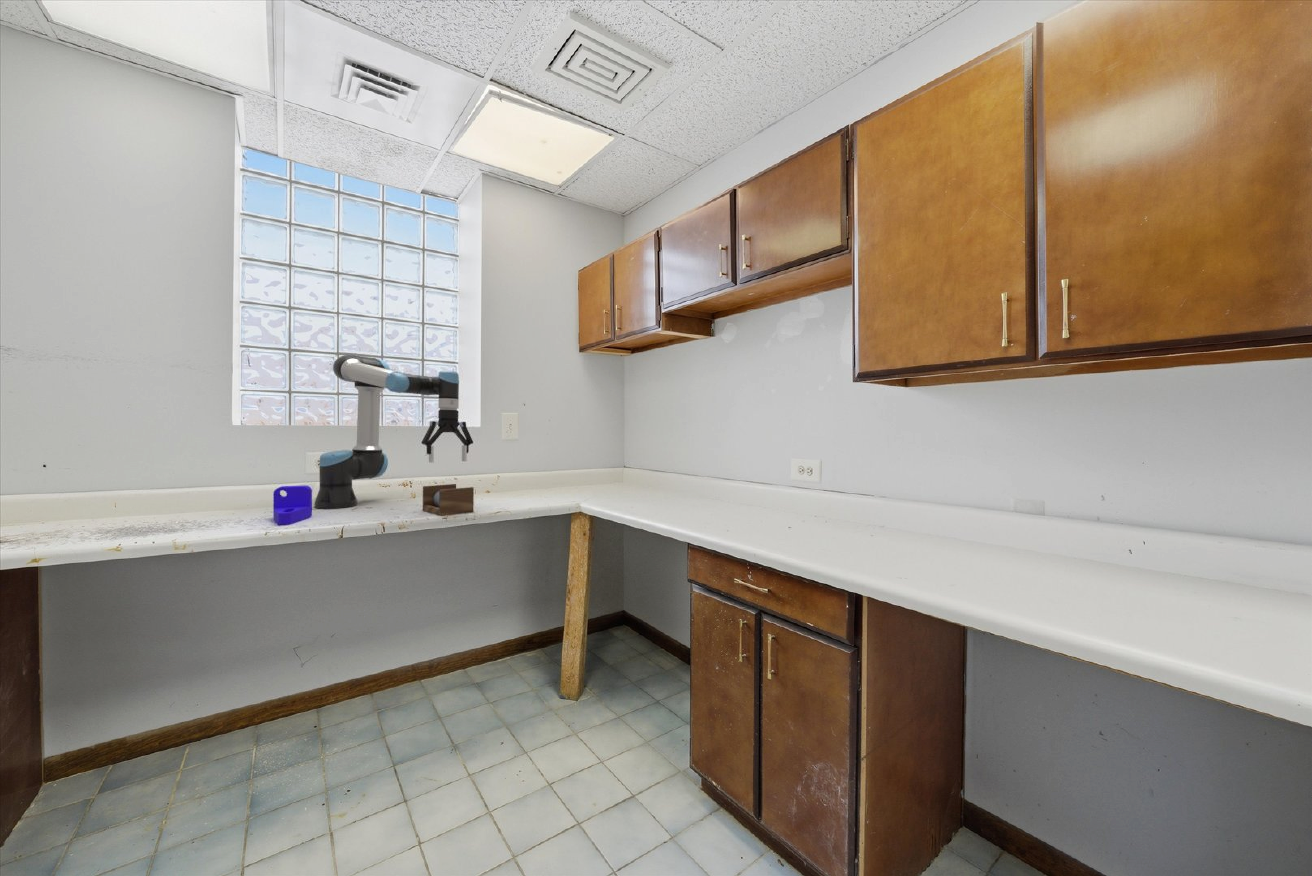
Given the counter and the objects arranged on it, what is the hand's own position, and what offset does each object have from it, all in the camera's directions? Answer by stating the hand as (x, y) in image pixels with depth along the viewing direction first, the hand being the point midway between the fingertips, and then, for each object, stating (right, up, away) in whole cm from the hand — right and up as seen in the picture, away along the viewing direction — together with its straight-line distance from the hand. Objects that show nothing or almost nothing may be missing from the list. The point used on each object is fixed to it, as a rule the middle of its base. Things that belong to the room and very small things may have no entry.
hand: (448, 461), depth 200 cm
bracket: (-47, -20, -23) cm, 56 cm away
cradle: (0, -20, 0) cm, 20 cm away
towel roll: (0, -19, 0) cm, 19 cm away
